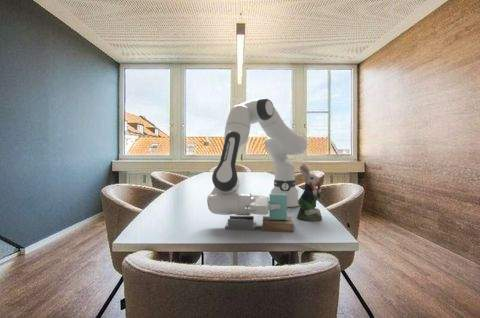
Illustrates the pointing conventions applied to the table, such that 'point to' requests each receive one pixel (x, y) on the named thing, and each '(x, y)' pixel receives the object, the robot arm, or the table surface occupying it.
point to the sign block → (282, 200)
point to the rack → (241, 222)
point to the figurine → (309, 197)
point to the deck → (277, 224)
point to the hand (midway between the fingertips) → (280, 205)
